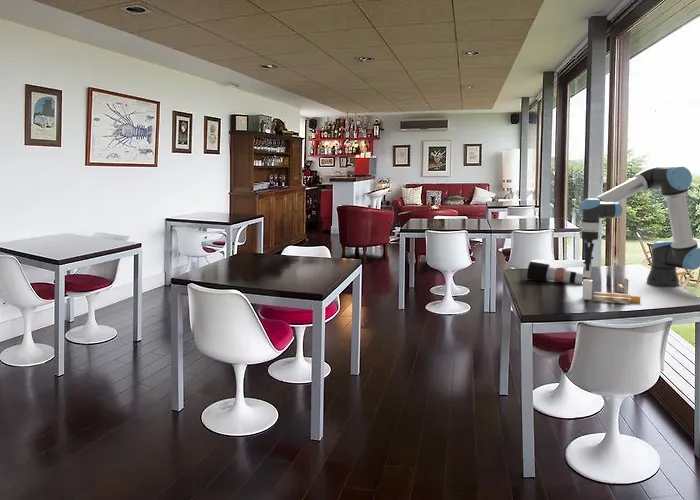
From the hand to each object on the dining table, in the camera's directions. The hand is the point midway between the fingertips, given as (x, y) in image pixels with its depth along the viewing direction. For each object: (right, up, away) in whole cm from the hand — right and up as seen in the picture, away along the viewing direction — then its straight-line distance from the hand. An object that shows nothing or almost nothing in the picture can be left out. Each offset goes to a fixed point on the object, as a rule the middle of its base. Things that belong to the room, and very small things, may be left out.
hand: (587, 274), depth 279 cm
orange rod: (+14, -12, -4) cm, 19 cm away
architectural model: (+24, -10, +13) cm, 29 cm away
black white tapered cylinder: (+1, -6, +39) cm, 40 cm away
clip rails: (+11, -12, -3) cm, 16 cm away
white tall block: (0, -12, +2) cm, 12 cm away
